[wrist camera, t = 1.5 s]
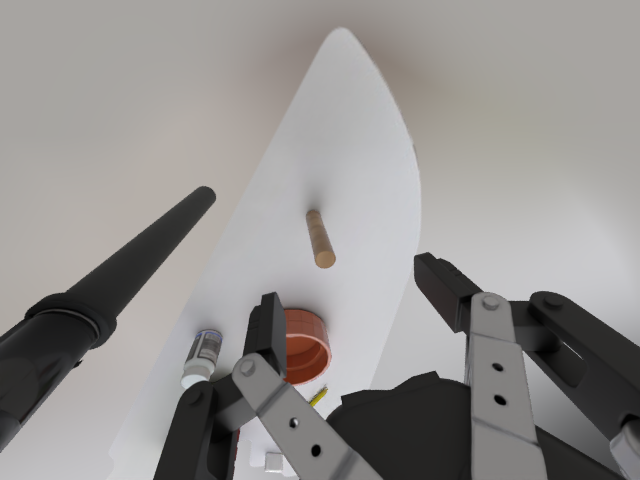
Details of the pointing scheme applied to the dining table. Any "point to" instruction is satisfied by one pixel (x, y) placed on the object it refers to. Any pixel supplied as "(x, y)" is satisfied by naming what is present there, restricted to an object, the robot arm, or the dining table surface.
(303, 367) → the bowl
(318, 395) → the pencil
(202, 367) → the pill bottle
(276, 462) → the eraser
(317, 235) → the stirring stick
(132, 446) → the dining table surface
